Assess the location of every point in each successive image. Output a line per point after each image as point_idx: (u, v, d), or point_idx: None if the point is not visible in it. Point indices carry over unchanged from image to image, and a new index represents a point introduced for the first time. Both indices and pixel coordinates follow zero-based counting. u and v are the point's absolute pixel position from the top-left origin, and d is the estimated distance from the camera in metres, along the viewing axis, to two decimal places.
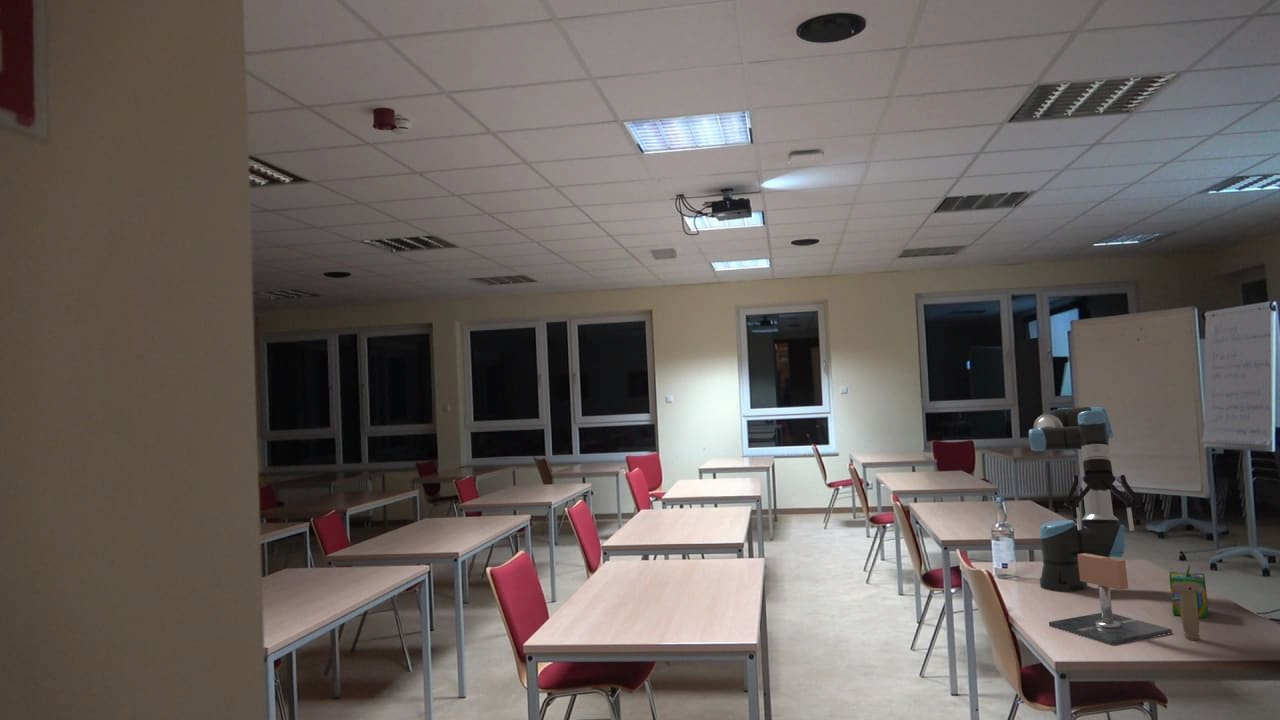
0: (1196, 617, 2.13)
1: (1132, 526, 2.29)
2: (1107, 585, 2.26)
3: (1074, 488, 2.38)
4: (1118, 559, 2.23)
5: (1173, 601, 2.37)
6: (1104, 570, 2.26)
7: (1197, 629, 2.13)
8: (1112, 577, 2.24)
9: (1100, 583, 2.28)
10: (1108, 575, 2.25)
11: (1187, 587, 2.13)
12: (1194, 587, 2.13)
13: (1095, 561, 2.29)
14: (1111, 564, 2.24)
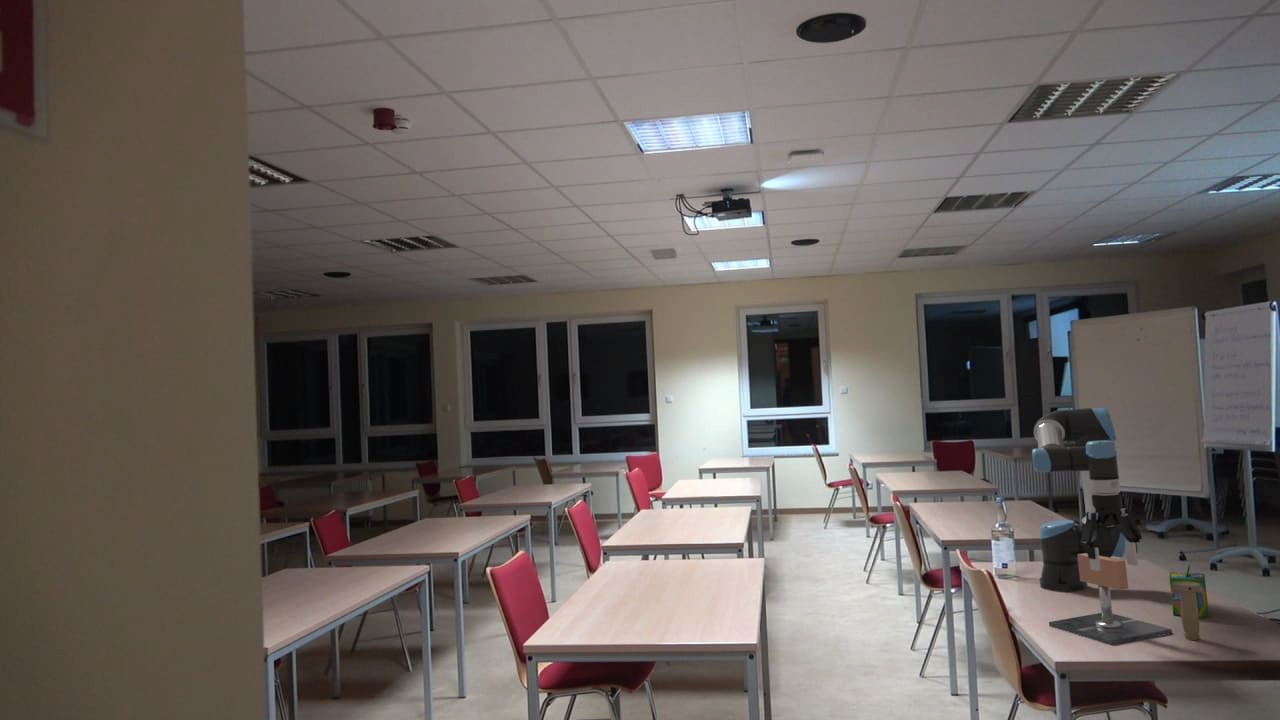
0: (1196, 617, 2.13)
1: (1136, 562, 2.25)
2: (1107, 585, 2.26)
3: (1093, 527, 2.22)
4: (1118, 559, 2.23)
5: (1173, 601, 2.37)
6: (1104, 570, 2.26)
7: (1197, 629, 2.13)
8: (1112, 577, 2.24)
9: (1100, 583, 2.28)
10: (1108, 575, 2.25)
11: (1187, 587, 2.13)
12: (1194, 587, 2.13)
13: None
14: (1111, 564, 2.24)
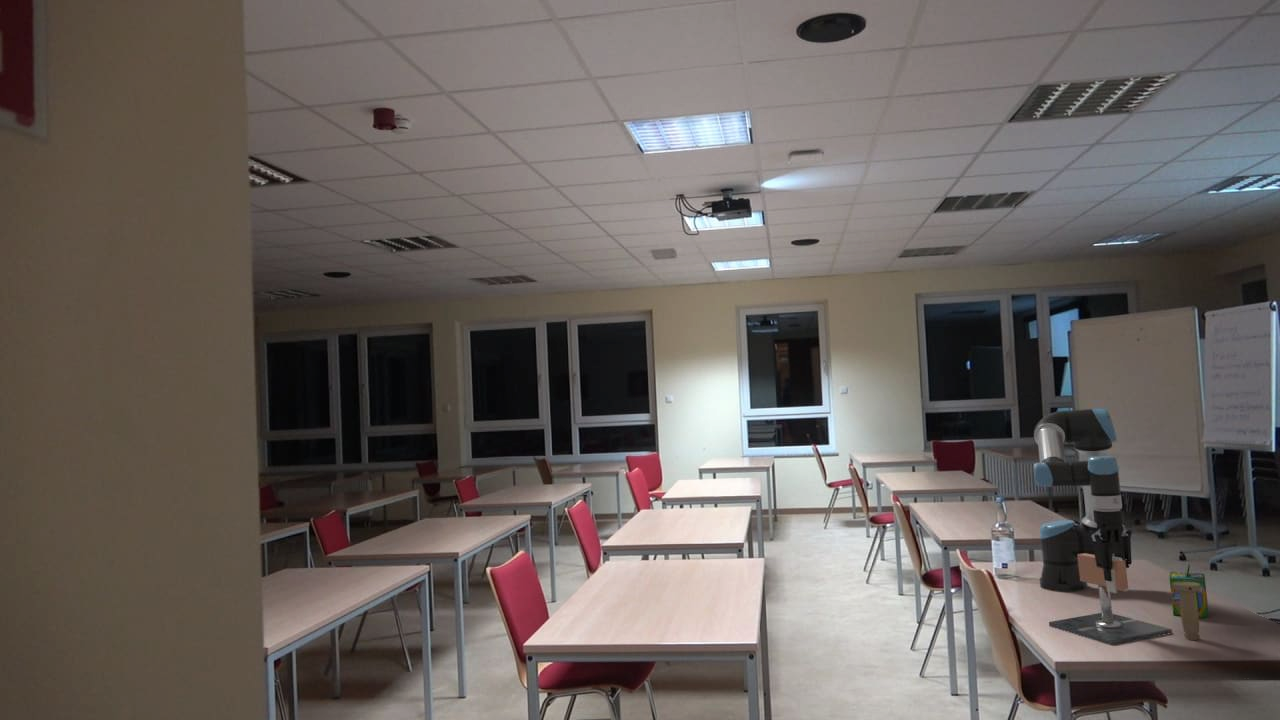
0: (1196, 617, 2.13)
1: None
2: None
3: (1102, 548, 2.23)
4: (1118, 559, 2.23)
5: (1173, 601, 2.37)
6: None
7: (1197, 629, 2.13)
8: None
9: (1100, 583, 2.28)
10: None
11: (1187, 587, 2.13)
12: (1194, 587, 2.13)
13: (1095, 561, 2.29)
14: None
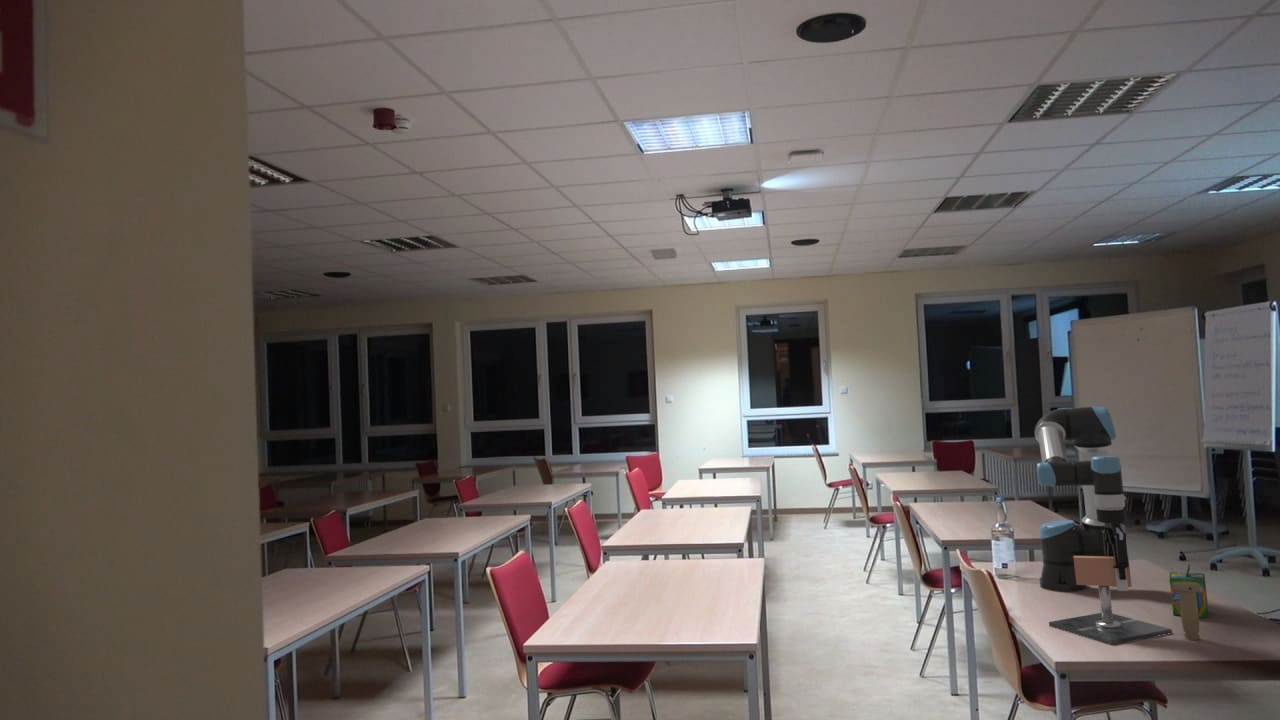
0: (1196, 617, 2.13)
1: None
2: (1114, 584, 2.26)
3: None
4: None
5: (1173, 601, 2.37)
6: (1111, 569, 2.27)
7: (1197, 629, 2.13)
8: None
9: (1104, 583, 2.27)
10: None
11: (1187, 587, 2.13)
12: (1194, 587, 2.13)
13: (1099, 561, 2.28)
14: None
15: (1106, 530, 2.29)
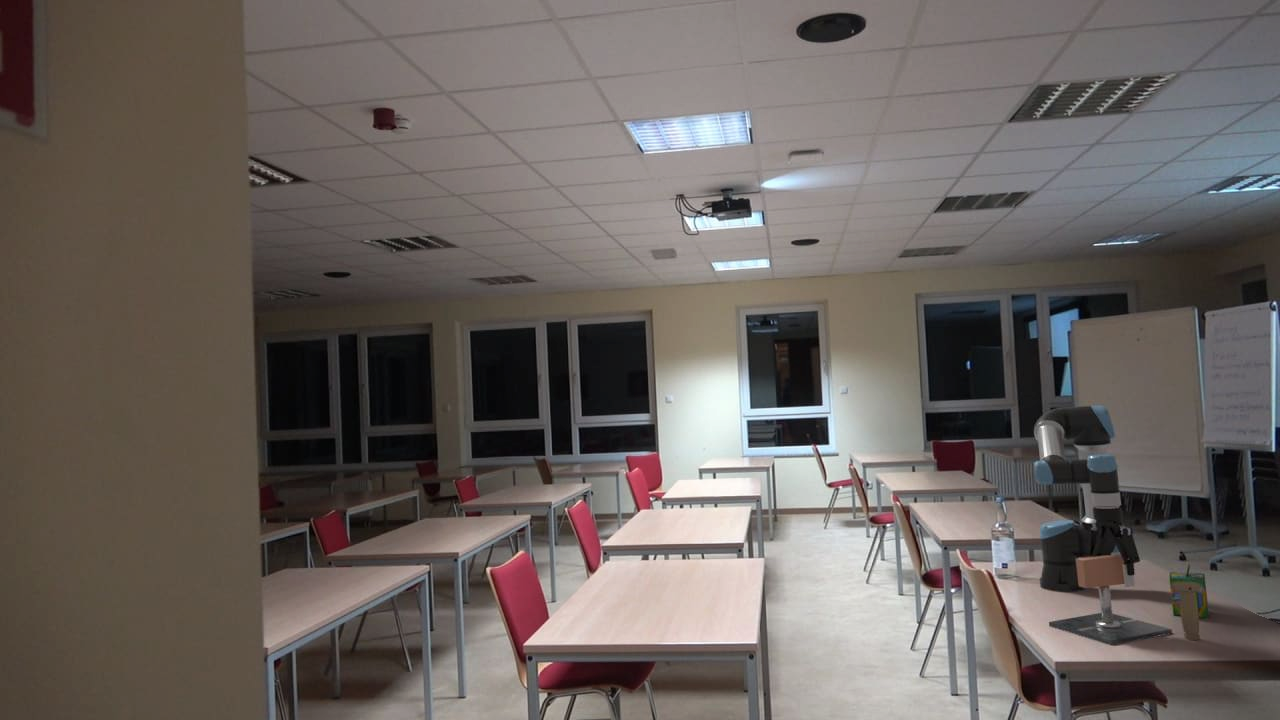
0: (1196, 617, 2.13)
1: None
2: (1115, 583, 2.28)
3: None
4: None
5: (1173, 601, 2.37)
6: (1112, 568, 2.28)
7: (1197, 629, 2.13)
8: (1121, 573, 2.28)
9: (1108, 583, 2.27)
10: (1116, 572, 2.28)
11: (1187, 587, 2.13)
12: (1194, 587, 2.13)
13: (1103, 561, 2.28)
14: (1120, 560, 2.28)
15: (1103, 529, 2.31)
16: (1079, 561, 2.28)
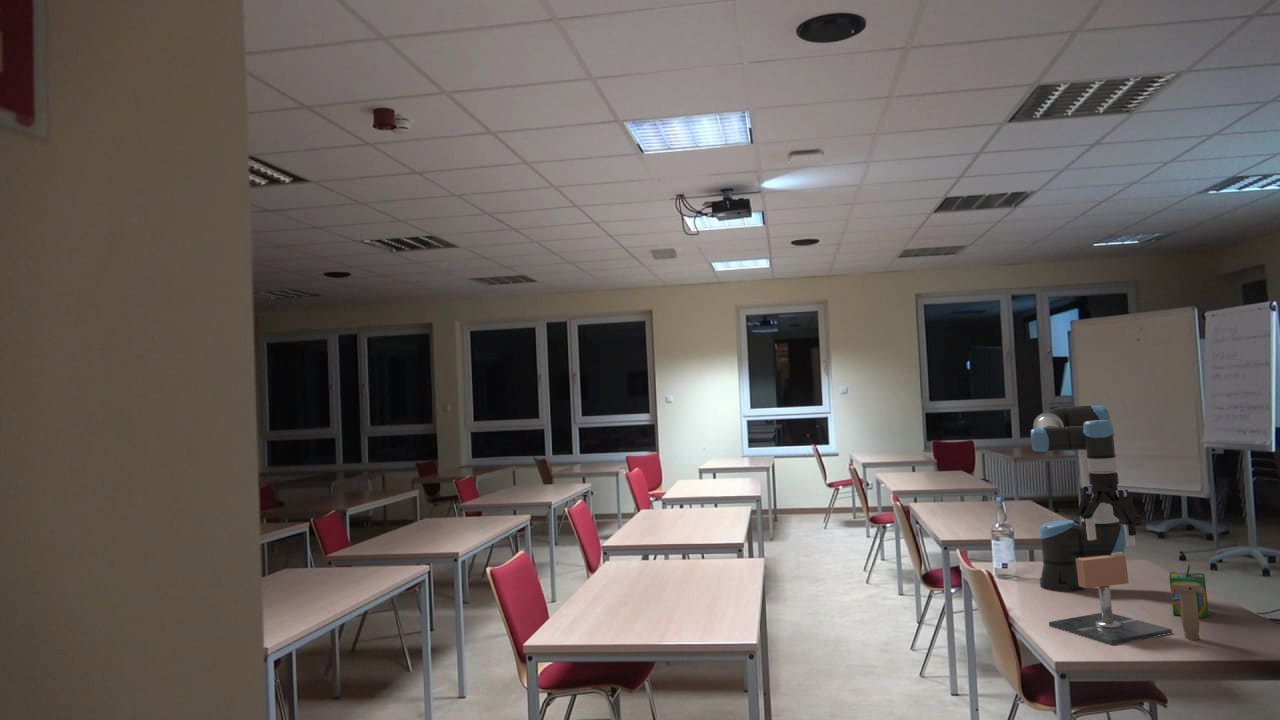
0: (1196, 617, 2.13)
1: None
2: (1115, 583, 2.28)
3: None
4: (1121, 553, 2.30)
5: (1173, 601, 2.37)
6: (1112, 568, 2.28)
7: (1197, 629, 2.13)
8: (1121, 573, 2.28)
9: (1108, 583, 2.27)
10: (1116, 572, 2.28)
11: (1187, 587, 2.13)
12: (1194, 587, 2.13)
13: (1103, 561, 2.28)
14: (1120, 560, 2.28)
15: (1099, 494, 2.32)
16: (1079, 561, 2.28)
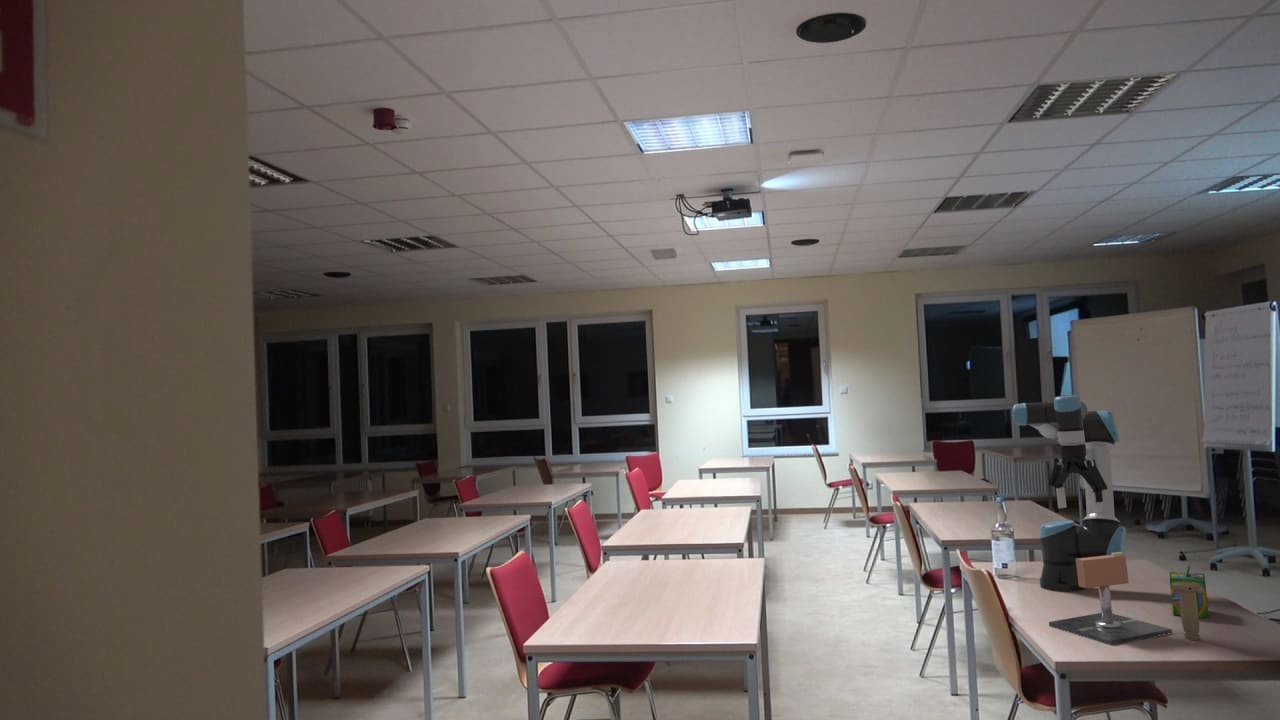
0: (1196, 617, 2.13)
1: None
2: (1115, 583, 2.28)
3: None
4: (1121, 553, 2.30)
5: (1173, 601, 2.37)
6: (1112, 568, 2.28)
7: (1197, 629, 2.13)
8: (1121, 573, 2.28)
9: (1108, 583, 2.27)
10: (1116, 572, 2.28)
11: (1187, 587, 2.13)
12: (1194, 587, 2.13)
13: (1103, 561, 2.28)
14: (1120, 560, 2.28)
15: (1068, 465, 2.49)
16: (1079, 561, 2.28)
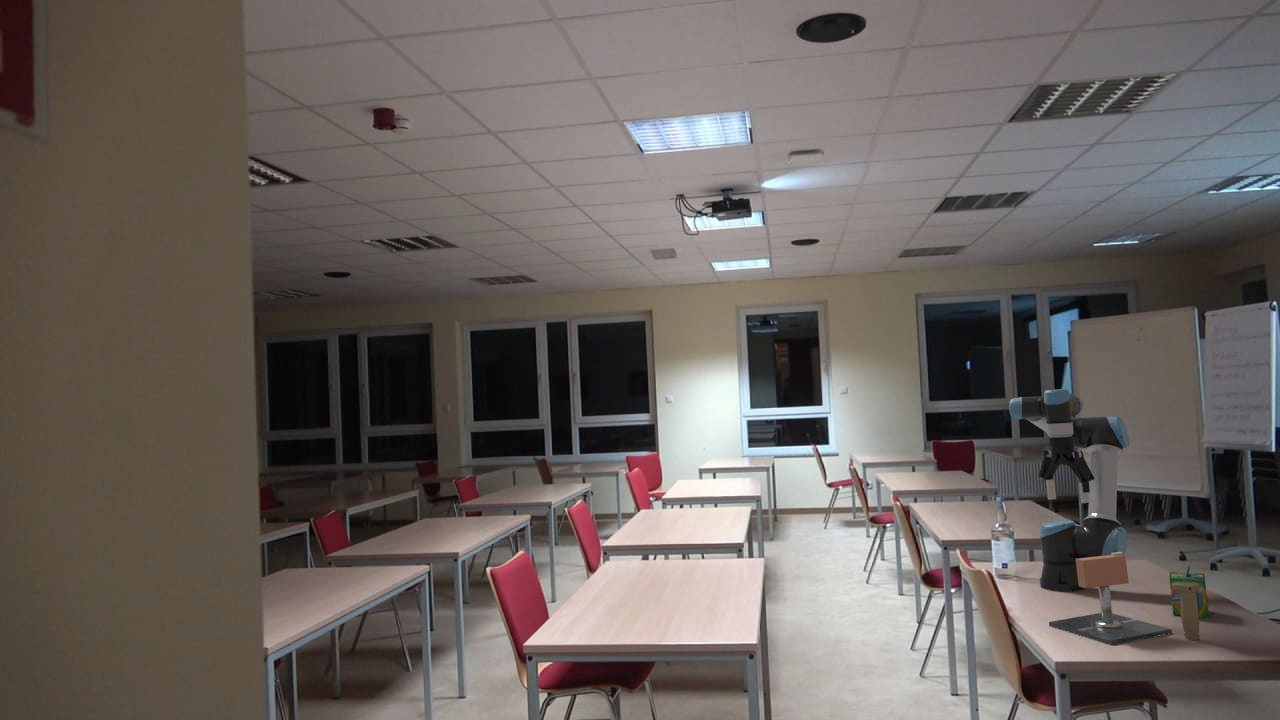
0: (1196, 617, 2.13)
1: None
2: (1115, 583, 2.28)
3: None
4: (1121, 553, 2.30)
5: (1173, 601, 2.37)
6: (1112, 568, 2.28)
7: (1197, 629, 2.13)
8: (1121, 573, 2.28)
9: (1108, 583, 2.27)
10: (1116, 572, 2.28)
11: (1187, 587, 2.13)
12: (1194, 587, 2.13)
13: (1103, 561, 2.28)
14: (1120, 560, 2.28)
15: (1057, 457, 2.55)
16: (1079, 561, 2.28)
